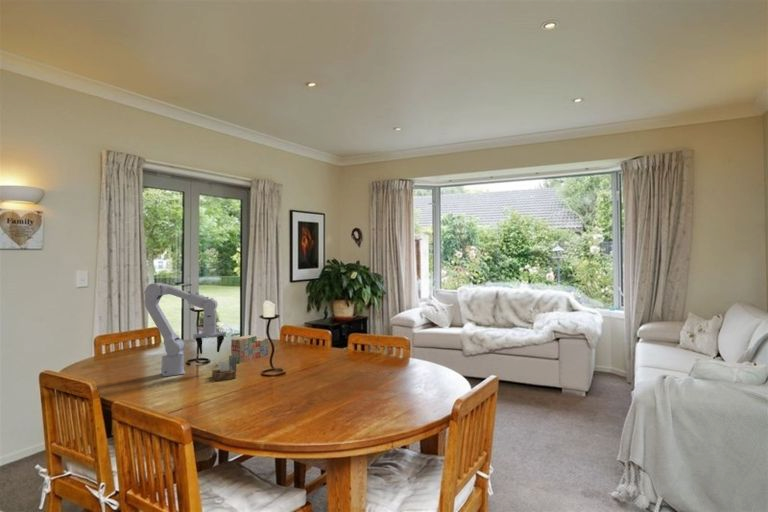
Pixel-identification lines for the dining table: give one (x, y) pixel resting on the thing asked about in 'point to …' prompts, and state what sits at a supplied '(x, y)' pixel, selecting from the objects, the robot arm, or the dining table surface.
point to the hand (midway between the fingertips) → (209, 352)
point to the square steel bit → (223, 366)
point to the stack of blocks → (248, 348)
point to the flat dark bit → (232, 362)
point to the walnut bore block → (223, 375)
